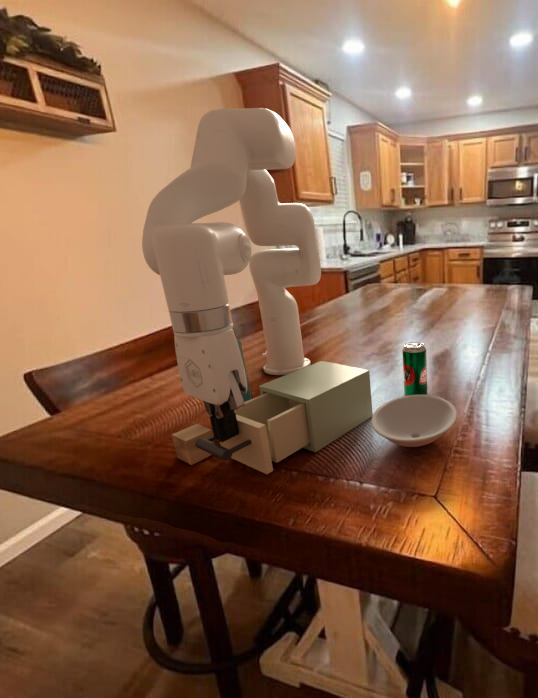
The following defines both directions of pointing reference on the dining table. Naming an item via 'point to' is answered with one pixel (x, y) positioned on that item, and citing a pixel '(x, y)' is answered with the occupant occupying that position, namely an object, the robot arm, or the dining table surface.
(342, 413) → the cabinet
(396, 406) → the dish
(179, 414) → the dining table surface
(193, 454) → the block
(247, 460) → the drawer
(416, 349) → the soda can
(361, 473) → the dining table surface
